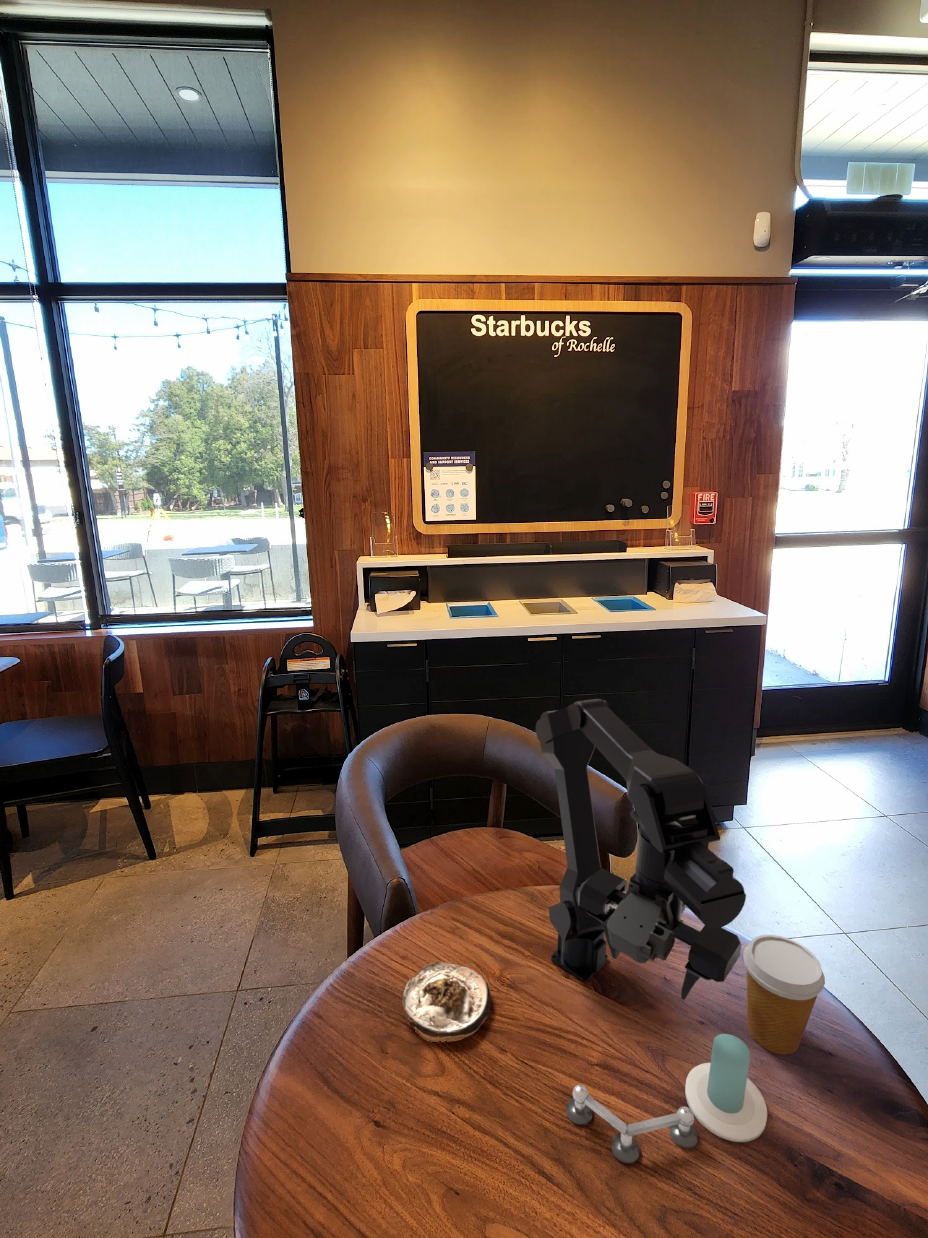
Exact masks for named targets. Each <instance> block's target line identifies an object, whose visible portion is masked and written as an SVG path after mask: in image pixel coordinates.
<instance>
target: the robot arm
mask: <svg viewBox="0 0 928 1238" xmlns="http://www.w3.org/2000/svg"><path fill="white" fill-rule="evenodd" d="M535 733H536V738H537V740H538V742H539V744H540V749H541V754H542V755H543V756H544V758H545V759H546V760H547V762H548V763H549V764H550V765H551V767H552V768H553V770H554V774H555V781H556V790H557V797H558V805H559V810H560V811H559V813H560V819H561V820H560V821H561V827H562V834H563V842H564V848H565V849H564V851H565V856H566V858H565V859H566V865H567V868H566V870H565V872H564V875H563V877H562V880H561V881H560V882H561V883H560V885H559V902H558V903H556V904H554V905H551V906H549V907H548V913H549V914H548V915H549V921H550V924H551V925H552V926H553V928H554V929H555V931H556V932H557V945H556V951H554V952H553V953H552V954H551V956H550V960H551V961H552V963H555V964H556V965H557V966H559V967H561V968H562V969H564V970H566V971H567V972H568V973H570V974H572V975H574V977H576V978H578V979H579V980H581V981H583V982H588V981H589V980H590V979H591V978H592V977H593V976H594V975H595V974H597V973H598V972H599V971H600V970H601V969H602V968H603V967H604V966H605V964H606V962H607V961H608V959H609V956H608V954H607V953H606V952H607V944H608V948H609V950H610V954H611V957H612V959H615V960H617V958H618V957H619V956H620V954H621V953H622V954H625V955H626V956H628V957H629V958H631V959H632V960H633V961H635V962H637V963H640V964H644V963H647V962H648V961H649V960H650V961H651V962H654V961H655V959H659V960H661V961H662V962H663V961H666V960H667V959H668V956H669V955H670V953H671V951H672V949H673V948H674V946H675V942H676V939H677V940H679V941H681V942H682V943H684V944H685V945H688V946H690V948H689V951H688V956H687V962H686V964H685V965H684V969H685V974H684V978H683V979H684V980H683V982H682V988H681V995H680V996H681V997H680V999H681V1000H683V1001H685V1000H686V999H687V997H688V996H689V994H690V993H691V991H692V990H693V988H694V986H695V984H696V983H697V981H699V979H700V978H702V979H703V980H705V981H714V982H715V983H723V982H725V980H726V979H727V977H728V975H730V972H731V970H733V967H734V966H735V965H736V962H738V959H739V957H740V956H741V949H742V942H741V940H740V938H739V935H737V934H735V933H733V932H731V931H729V930H727V929H725V928H724V927H726V926H728V925H729V924H730V923H732V922H733V921H734V920H735V919H736V918H737V917H738V916H739V914H740V913H741V912H742V910H743V908H744V906H745V903H746V899H747V894H746V893H745V888H744V886H743V884H742V883H741V882H740V881H739V880H738V879H737V878H736V877H734V872H735V871H734V868H733V867H732V866H731V865H730V864H729V863H728V862H726V861H725V860H723V859H722V858H720V857H718V856H717V855H716V854H715V853H714V852H713V851H711V850H710V849H709V844H710V843H714V842H719V841H720V840H721V836H720V832H719V829H718V826H717V824H718V823H719V821H718V820H717V818H716V815H715V812H714V810H713V807H712V806H711V803H710V800H709V796H708V794H707V790H706V788H705V785H704V783H703V781H702V779H701V778H700V776H699V775H698V774H697V773H696V772H695V771H694V770H693V769H692V768H690V767H688V766H687V765H686V764H684V763H683V762H681V761H679V760H678V759H676V758H673V757H669V756H667V755H663V754H660V753H657V752H656V751H654V750H653V749H652V748H651V747H650V746H649V745H648V744H647V743H645V742H644V740H642V739H641V737H639V736H638V734H636V733H635V732H634V731H633V730H632V729H631V728H630V727H629V726H628V725H627V724H626V723H625V722H623V720H622V719H621V718H619V716H618V715H616V713H614V712H613V711H612V709H611V705H610V703H608V701H607V700H605V699H601V698H596V699H586V700H585V699H584V700H580V701H579V700H578V701H575V702H574V703H571V704H569V705H568V706H567V707H563V708H561V709H558V710H557V709H556V710H548V711H544V712H542V714H541V715H540V718H539V719H538V720H537V721H536V724H535ZM595 748H596V749H597V750H598V752H600V754H602V755H603V757H604V758H605V759H606V760H607V762H609V763H610V765H612V767H613V768H614V769H615V770H616V771H617V772H618V773H619V774H620V776H621V777H622V778H623V779H624V781H625V782H626V791H627V792H626V795H627V799H628V800H629V802H630V803H631V805H632V806H633V808H634V810H631V811H630V813H629V815H630V817H631V818H632V819H633V820H634V821H635V822H636V823H637V824H638V825H639V830H638V842H637V850H636V851H637V852H636V860H635V873H634V874H633V875H632V876H631V877H630V878H629V883H628V881H627V880H626V879H625V878H623V877H621V876H619V875H616V874H615V873H613V872H610V871H608V870H606V869H604V868H603V867H602V865H601V859H600V851H599V845H598V836H597V831H596V824H595V823H596V822H595V816H594V807H593V800H592V795H591V794H592V793H591V786H590V780H589V779H590V778H589V773H588V765H589V763H590V761H591V759H592V756H593V754H594V752H595ZM694 818H695V819H696V821H697V822H698V823H696V824H692V825H691V824H690V825H686V826H682V825H681V824H680V823H678V822H679V821H684V820H689V819H694ZM625 891H626V892H625ZM686 907H687V908H688V910H690V912H691V913H693V914H694V916H696V917H697V918H698V919H699V921H700V922H701V923H702V924H703V925H704V926H703V927H702V928H701V929H700V928H699V927H697V926H695V925H693V924H691V923H689V922H687V921H685V920H683V919H682V918H681V917H682V914H683V913H684V911H686ZM605 939H606V940H605Z"/></svg>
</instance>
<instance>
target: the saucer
mask: <svg viewBox="0 0 928 1238" xmlns="http://www.w3.org/2000/svg"><path fill="white" fill-rule="evenodd" d="M710 1064H711V1062H705V1063H701V1064H698V1065H696V1066H695V1067H693V1068H692V1069H691V1070H690V1071H689V1073H688V1074H687V1076H686V1080H685V1087H684V1094H685V1100H686V1102H687V1105H688V1108H689V1109H690V1110H691V1111H692V1113H693V1115H694V1118H695V1119H696V1120H697V1121H698V1122H699V1123H700V1124H701V1125H702V1126H703V1127H704V1128H705V1129H707V1130H708V1131H709V1132H710V1133H712V1134H714V1135H715V1136H718V1137H719V1138H721V1139H724V1140H726V1141H731V1142H736V1143H749V1142H751V1141H755V1140H756V1139H758V1138H759V1137H760V1136H761V1135H762V1134H763V1132H764V1131H765V1128H766V1126H767V1120H768V1108H767V1107H768V1106H767V1105H766V1101H765V1099H764V1097H763V1095H762V1093H761V1092H760V1090H759V1088H758V1087H757V1086H756V1085H755V1084H754V1082H753V1081H751V1079H749V1077H747V1082H746V1089H745V1096H744V1103H743V1108H742V1109H741V1110H740V1111H739V1112H737V1113H726V1112H723V1111H721V1110H720V1109H718V1108H717V1107H716V1106H714V1104H713V1103H712V1102H711V1101H710V1099H709V1097H708V1094H707V1087H708V1080H709V1072H710Z"/></svg>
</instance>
